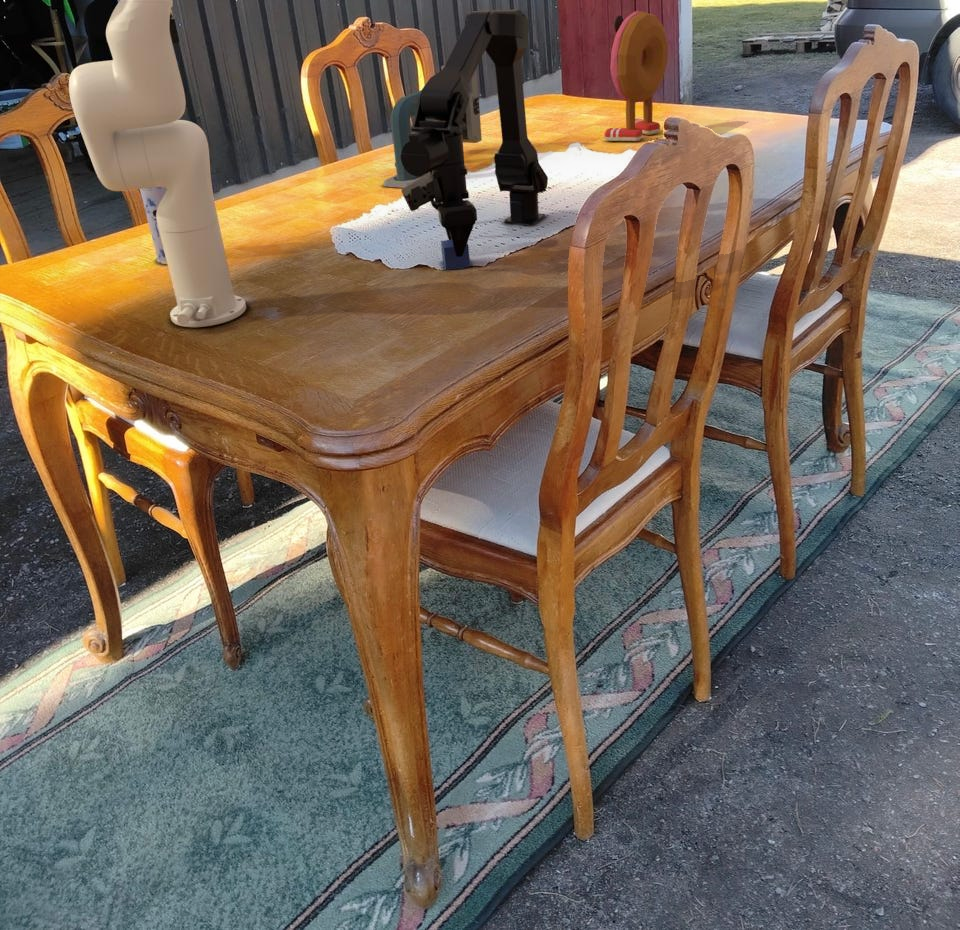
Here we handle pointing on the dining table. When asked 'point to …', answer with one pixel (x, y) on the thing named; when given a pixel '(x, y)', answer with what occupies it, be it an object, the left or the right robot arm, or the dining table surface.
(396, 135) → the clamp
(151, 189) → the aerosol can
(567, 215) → the dining table surface
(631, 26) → the toy
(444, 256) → the block
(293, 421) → the dining table surface
